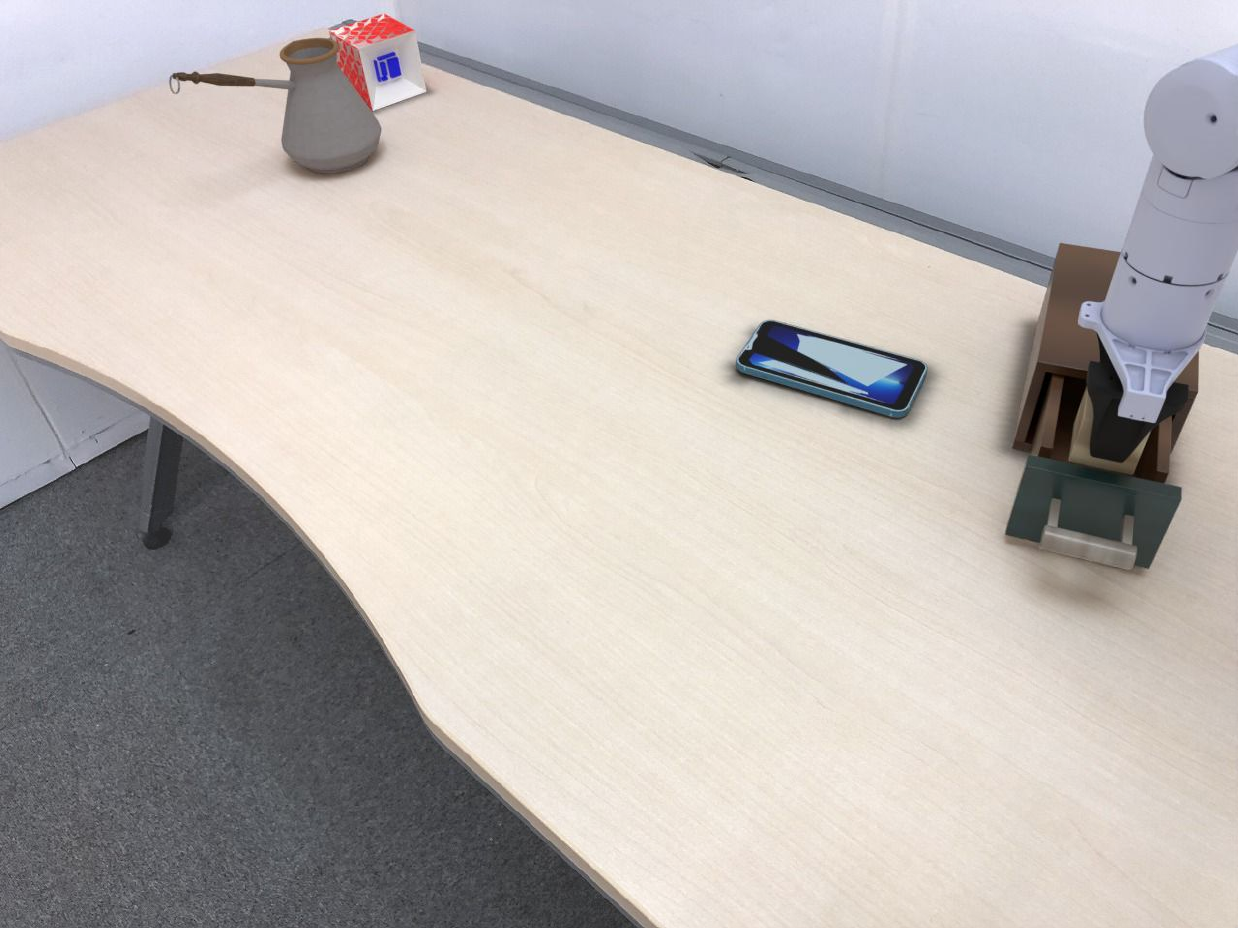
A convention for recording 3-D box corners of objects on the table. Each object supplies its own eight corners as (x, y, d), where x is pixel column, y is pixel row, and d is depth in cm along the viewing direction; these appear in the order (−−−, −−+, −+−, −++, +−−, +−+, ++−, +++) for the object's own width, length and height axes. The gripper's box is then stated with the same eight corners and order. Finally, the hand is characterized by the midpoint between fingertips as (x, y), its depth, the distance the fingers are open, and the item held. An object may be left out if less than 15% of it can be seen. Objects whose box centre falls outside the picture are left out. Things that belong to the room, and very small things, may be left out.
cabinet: (1159, 480, 76) (1198, 391, 71) (1011, 448, 80) (1036, 361, 74) (1166, 350, 87) (1200, 264, 81) (1036, 327, 91) (1059, 242, 85)
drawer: (1146, 617, 67) (1180, 548, 62) (996, 579, 69) (1017, 510, 65) (1157, 425, 79) (1186, 355, 75) (1030, 399, 82) (1050, 331, 78)
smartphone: (905, 415, 82) (731, 363, 87) (903, 423, 83) (731, 372, 88) (930, 362, 87) (764, 316, 92) (928, 371, 87) (764, 325, 92)
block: (1135, 436, 70) (1153, 391, 67) (1132, 475, 67) (1151, 430, 65) (1073, 424, 71) (1088, 379, 68) (1068, 461, 69) (1083, 416, 66)
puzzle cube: (396, 74, 137) (384, 13, 132) (426, 92, 133) (415, 30, 127) (343, 92, 134) (328, 31, 129) (372, 111, 129) (357, 49, 124)
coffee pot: (354, 126, 127) (323, 1, 116) (405, 156, 120) (377, 26, 110) (193, 190, 117) (143, 60, 107) (238, 226, 111) (190, 92, 100)
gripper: (1109, 187, 65) (1056, 357, 74) (1090, 316, 55) (1033, 492, 65) (1232, 204, 63) (1162, 377, 72) (1235, 341, 53) (1154, 520, 63)
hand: (1109, 433), depth 68 cm, fingers closed on block, 4 cm apart
